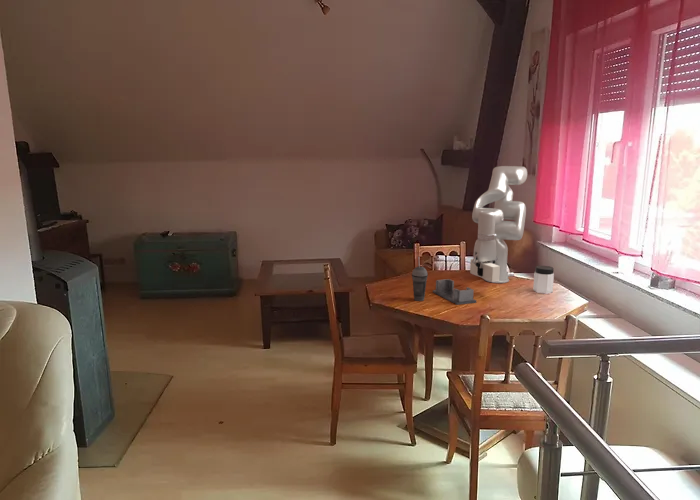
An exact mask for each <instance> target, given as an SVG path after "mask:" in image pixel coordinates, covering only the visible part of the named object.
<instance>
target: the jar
mask: <svg viewBox="0 0 700 500" xmlns="http://www.w3.org/2000/svg"><path fill="white" fill-rule="evenodd" d="M533 273H534V275H533V290H532V291H534V292H535V293H537V294H545V295H546V294H547V295H549V294H552V293H553V291H554V280H555V279H554V278H555V273H554V267H553V266H550V265H549V266H548V265H537V266H535V271H534V272H533Z"/></svg>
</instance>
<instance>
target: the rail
mask: <svg viewBox="0 0 700 500" xmlns="http://www.w3.org/2000/svg"><path fill="white" fill-rule="evenodd" d="M472 260H473V258H470V265H469V267H470V268H469V272H470V273H469V274H472V275H473V276H476V277H480V278H482V279H483V280H484V279H486V280H489V281H491V282H490V283H493V282H495V281H499V276H500V266H498V265H495V264H492V263H489V262H487V261H486V262H483V265H482V268H483V276H479V275H478V273H477V270H478V267H477V266H476V265H475V264H474V263H472ZM477 261H478V260H476V262H477Z"/></svg>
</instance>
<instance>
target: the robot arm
mask: <svg viewBox="0 0 700 500" xmlns="http://www.w3.org/2000/svg"><path fill="white" fill-rule="evenodd" d="M527 178H528V169H527V168H526V167H525V166H521V165H520V166H519V165H518V166H517V165H511V166H510V165H501V166H495V167H494V168H493V169H492V174H491V179H490V182H489V186H488V189H487V190H486V191H485V192H484V193H482V194H481V195H480V196H479V197H478V198H477V199H476V200H475V202H474V205H473V208H472V209H473V210H472V214H471V215H472V216H471V217H472V218H471V220H472V222H474V223H476V224H477V226H478V227H477V239H476V240H475V243H474V247H473V257H472V259H473V260H472V263H474V264H475V265H476V266H477V267H478V270H477V273H478V275H479V276H483V268H482V265H483V262H486V261H487V262H489V263H492V264H495V265H498V266H500V276H499V281H495V282H491V281H489V280H486V279H484V278H483V280H484V281H486V282H488V283H493V284H504V283H505V284H506V283H508V282H510V278H509V277H514V276H515V273H514V272H512V271H511V272H509V271H508V270H507V269H508V268H507V266H508V256H509V255H508V251H509V248H508V245H507V243H506V241H505V240H507V241H520V240H522V238H523V235H524V230H525V224H526V216H527V206H526V204H525V203H524V202H523V201H519V200H513V197H514V192H513V190H512V188H511V187H510V185H512V186H513V185H514V186H520V185H522V184H524V183H526V180H527ZM491 203H494V207H493V208H492V207H491V208H490V207H485V206H486V205H488V204H491ZM513 220H514V221H513ZM476 260H478V261H477V262H476ZM479 276H478V277H479Z"/></svg>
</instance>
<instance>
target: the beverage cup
mask: <svg viewBox="0 0 700 500" xmlns="http://www.w3.org/2000/svg"><path fill="white" fill-rule="evenodd" d="M417 258H418V261H417V262H418V265H417V266H416V267H415V268H413V270H412V272H411V280H412V288H413V289H412V290H413V300H414V301H416V302H424V301H425V296H426V289H427V288H426V287H427V280H428V271H427V269H426V268H425V267H424V266H421V264H420V256H418V257H417Z"/></svg>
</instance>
